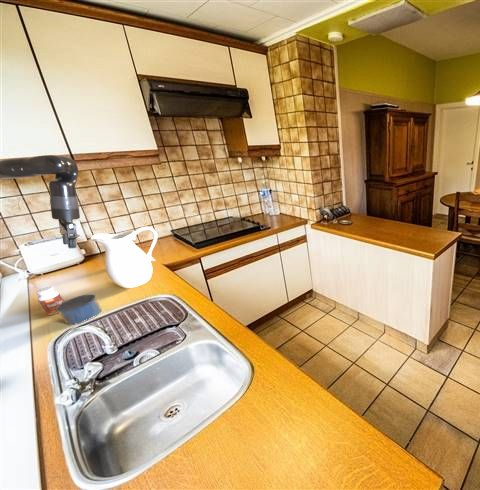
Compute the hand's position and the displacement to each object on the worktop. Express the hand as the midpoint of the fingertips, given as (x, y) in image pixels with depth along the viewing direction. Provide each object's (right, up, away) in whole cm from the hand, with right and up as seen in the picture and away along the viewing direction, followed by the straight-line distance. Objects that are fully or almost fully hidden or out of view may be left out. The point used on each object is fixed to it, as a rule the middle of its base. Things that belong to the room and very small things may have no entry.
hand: (69, 246), depth 110 cm
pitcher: (+7, -18, +29) cm, 35 cm away
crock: (+4, -30, +2) cm, 30 cm away
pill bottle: (-13, -29, +7) cm, 32 cm away
